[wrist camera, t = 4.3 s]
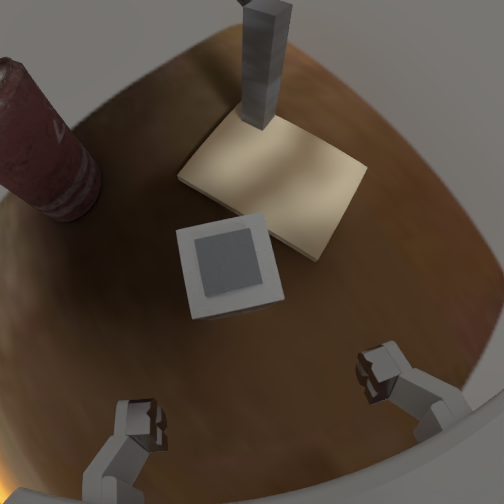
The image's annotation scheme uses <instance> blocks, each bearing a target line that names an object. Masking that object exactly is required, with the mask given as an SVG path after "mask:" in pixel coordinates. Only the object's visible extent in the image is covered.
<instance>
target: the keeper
mask: <svg viewBox="0 0 504 504" xmlns="http://www.w3.org/2000/svg"><path fill="white" fill-rule="evenodd" d="M237 1H238V2H239V3H240V4H241V5H242V7H243V44H242V100H241V102H240V103H239V104H238V105H237V106H236V107H235V108H234V109H233V110H232V111H231V112H230V113H229V115H228V116H227V117H226V118H225V119H224V120H223V121H222V122H221V123H220V125H219V126H218V127H217V128H216V129H215V130H214V131H213V133H212V134H211V135H210V136H209V137H208V138H207V139H206V141H205V142H204V143H203V144H202V145H201V147H200V148H199V149H198V150H197V151H196V152H195V154H194V155H193V156H192V157H191V159H190V160H189V161H188V162H187V163H186V165H185V166H184V167H183V168H182V170H181V171H180V172H179V173H178V175H177V177H178V179H179V180H180V181H181V182H183V183H185V184H186V185H188V186H190V187H192V188H193V189H195V190H197V191H198V192H200V193H202V194H204V195H205V196H207V197H209V198H210V199H212V200H214V201H215V202H217V203H219V204H220V205H222V206H224V207H225V208H227V209H229V210H230V211H232V212H234V213H235V214H237V215H239V216H244V215H249V214H254V213H259V212H263V214H264V217H265V221H266V225H267V229H268V233H269V234H270V235H272V236H273V237H275V238H277V239H278V240H280V241H282V242H283V243H285V244H286V245H288V246H290V247H291V248H293V249H295V250H296V251H298V252H299V253H301V254H303V255H304V256H306V257H307V258H309V259H311V260H312V261H314V262H316V261H318V259H319V257H320V256H321V254H322V252H323V250H324V249H325V247H326V245H327V243H328V241H329V240H330V238H331V236H332V234H333V232H334V231H335V229H336V227H337V225H338V223H339V221H340V219H341V218H342V216H343V214H344V212H345V210H346V208H347V206H348V204H349V203H350V201H351V199H352V197H353V195H354V193H355V191H356V189H357V187H358V185H359V183H360V181H361V179H362V177H363V175H364V173H365V171H366V170H367V167H366V166H364V165H363V164H361V163H360V162H358V161H356V160H355V159H353V158H352V157H350V156H348V155H347V154H345V153H343V152H342V151H340V150H338V149H337V148H335V147H333V146H332V145H330V144H328V143H326V142H325V141H323V140H321V139H319V138H318V137H316V136H314V135H312V134H310V133H309V132H307V131H305V130H303V129H301V128H299V127H297V126H296V125H294V124H292V123H290V122H288V121H286V120H284V119H282V118H280V117H278V116H276V115H275V113H276V106H277V100H278V94H279V88H280V81H281V75H282V69H283V62H284V56H285V50H286V43H287V37H288V31H289V24H290V18H291V12H292V4H289V3H286V2H283V1H280V0H237Z"/></svg>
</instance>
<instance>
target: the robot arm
mask: <svg viewBox="0 0 504 504" xmlns="http://www.w3.org/2000/svg"><path fill="white" fill-rule="evenodd" d="M358 360H359V362H358V363H357V364H356V368H355V370H356V376H357V379H358V381H359V383H360V385H362V386H364V387H366V388H365V392H364V394H365V396H366V398H367V400H368V402H369V404H370V405H373V404H375V403H378V402H381V401H383V400H386V399H388V398H389V399H388V400H390V401H391V402H393V403H394V404H396V405H397V406H399V407H400V408H402V409H403V410H405V411H406V412H408V413H409V414H411V415H412V416H414V417H415V418H417V419H418V420H420V422H419V423H418V425H417V426H416V427H415V429H414V431H413V433H414V435H415V437H416V439H417V441H418V443H419V444H418V445H416V446H414V447H412V448H410V449H408V450H406V451H403V452H401V453H399V454H397V455H395V456H393V457H391V458H388V459H386V460H384V461H382V462H379V463H377V464H374V465H372V466H369V467H367V468H364V469H362V470H359V471H357V472H354V473H351V474H348V475H346V476H343V477H340V478H337V479H334V480H331V481H327V482H324V483H321V484H318V485H314V486H311V487H307V488H303V489H299V490H295V491H291V492H287V493H283V494H278V495H273V496H269V497H263V498H258V499H252V500H246V501H239V502H232V503H224V504H504V389H503V390H502V391H500V392H499V393H498V394H497V395H495V396H494V397H493V398H491V399H490V400H489V401H487V402H486V403H485V404H483V405H482V406H480V407H479V408H477V409H476V410H475V411H472V409H471V408H470V406H469V405H468V403H467V401H466V400H465V398H464V397H463V395H462V394H461V392H460V390H459V389H458V388H456V387H453V386H451V385H449V384H447V383H445V382H443V381H441V380H439V379H437V378H435V377H433V376H431V375H429V374H427V373H425V372H423V371H421V370H419V369H417V368H414V369H412V367H411V366H410V364H409V363H408V361H407V360H406V358H405V357H404V355H403V353H402V352H401V350H400V349H399V347H398V346H397V344H396V343H395V342H394V341H389V342H386V343H384V344H380V345H378V346H375V347H373V348H370V349H367V350H364V351H362V352H360V353H359V354H358ZM166 428H167V420H166V415H165V413H164V410H163V409H162V408H161V407H159V406H157V401H156V400H155V399H154V398H148V399H138V400H123V401H118V403H117V406H116V416H115V427H114V436H110V438H109V439H108V440H107V442H106V443H105V445H104V446H103V447H102V449H101V450H100V451H99V453H98V454H97V455H96V457H95V458H94V460H93V461H92V462H91V464H90V465H89V466H88V468H87V469H86V470H85V472H84V473H83V489H82V501H81V500H75V499H69V498H64V497H59V496H54V495H50V494H46V493H42V492H38V491H34V490H30V489H27V488H22V487H20V488H17V489H16V490H15V491H14V492H13V493H12V494H11V495H10V496H9V497H8V498H7V500H6V501H5V502H4V503H3V504H144V494H143V493H142V492H141V491H140V490H138V489H136V488H134V487H132V485H133V483H134V481H135V479H136V478H137V476H138V474H139V472H140V470H141V468H142V466H143V465H144V463H145V461H146V459H147V457H148V455H149V452H161V451H168V440H167V436H166V435H165V434H164V431H165V430H166Z"/></svg>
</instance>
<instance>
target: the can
mask: <svg viewBox="0 0 504 504" xmlns="http://www.w3.org/2000/svg"><path fill="white" fill-rule="evenodd" d="M101 180H102V176H101V170H100V167H99V166H98V164H97V163H96V161H95V160H94V159H93V158H92V156H91V155H90V154H89V153H88V151H87V150H86V149H85V148H84V146H83V145H82V144H81V143H80V141H79V140H78V139H77V138H76V136H75V135H74V134H73V132H72V131H71V130H70V129H69V127H68V126H67V125H66V124H65V122H64V121H63V120H62V118H61V117H60V116H59V114H58V113H57V112H56V110H55V109H54V108H53V106H52V105H51V104H50V102H49V101H48V99H47V98H46V97H45V95H44V94H43V93H42V91H41V90H40V89H39V87H38V86H37V84H36V83H35V82H34V80H33V79H32V77H31V76H30V74H29V73H28V72H27V70H26V69H25V67H24V66H23V64H22V63H19V62H16V61H13V60H12V59H11V58H9V57H4V58H1V59H0V184H1V185H2V186H4V187H5V188H6V189H8V190H9V191H11V192H12V193H14V194H15V195H16V196H18V197H19V198H21V199H22V200H24V201H25V202H27V203H28V204H30V205H31V206H33V207H34V208H36V209H37V210H39V211H41V212H42V213H44V214H45V215H47V216H48V217H50V218H51V219H53V220H55V221H59V222H69V221H72V220H75V219H77V218H79V217H81V216H83V215H84V214H85V213H86V212H87V211H88V210H89V209H90V208H91V207H92V205H93V204H94V203H95V201H96V199H97V197H98V194H99V192H100V188H101Z"/></svg>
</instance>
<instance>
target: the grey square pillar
mask: <svg viewBox="0 0 504 504" xmlns="http://www.w3.org/2000/svg"><path fill="white" fill-rule="evenodd" d="M176 234H177V241H178V247H179V253H180V258H181V264H182V270H183V275H184V280H185V286H186V291H187V296H188V301H189V306H190V311H191V316H192V319H196V320H216V319H221V318H225V317H230V316H235V315H239V314H244V313H248V312H253V311H257V310H262V309H266V308H269V307H271V306H273V305H275V304H277V303H278V302H280V301H282V300H284V299H285V298H284V294H283V290H282V286H281V282H280V278H279V273H278V269H277V265H276V261H275V257H274V253H273V249H272V245H271V241H270V237H269V233H268V229H267V225H266V221H265V217H264V214H263V212H259V213H254V214H249V215H244V216H239V217H234V218H230V219H225V220H220V221H215V222H211V223H206V224H201V225H197V226H192V227H188V228H183V229H179V230H176Z"/></svg>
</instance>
